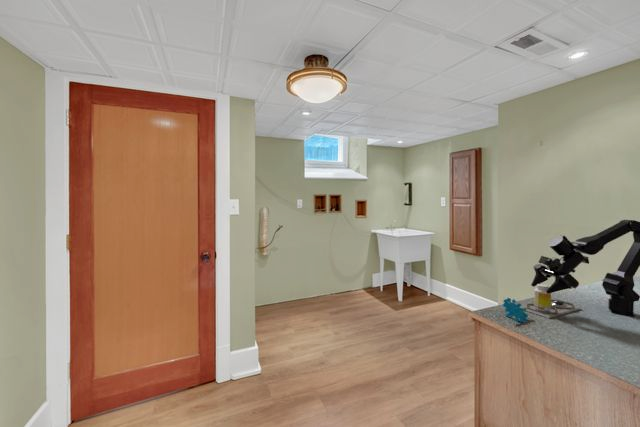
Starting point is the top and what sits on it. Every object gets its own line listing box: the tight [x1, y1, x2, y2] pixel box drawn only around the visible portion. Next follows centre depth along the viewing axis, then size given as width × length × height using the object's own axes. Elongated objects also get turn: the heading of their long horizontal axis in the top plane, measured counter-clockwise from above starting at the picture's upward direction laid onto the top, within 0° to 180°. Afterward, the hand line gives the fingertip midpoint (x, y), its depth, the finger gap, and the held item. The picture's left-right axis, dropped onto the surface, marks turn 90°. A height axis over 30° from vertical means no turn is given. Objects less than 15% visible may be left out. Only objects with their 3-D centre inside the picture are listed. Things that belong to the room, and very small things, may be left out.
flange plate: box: [520, 298, 581, 319], centre depth 121 cm, size 22×12×2 cm, turn 113°
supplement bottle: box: [533, 283, 552, 311], centre depth 118 cm, size 6×6×10 cm
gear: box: [502, 297, 529, 324], centre depth 113 cm, size 11×6×10 cm
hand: (539, 289), depth 118 cm, fingers open, 9 cm apart
